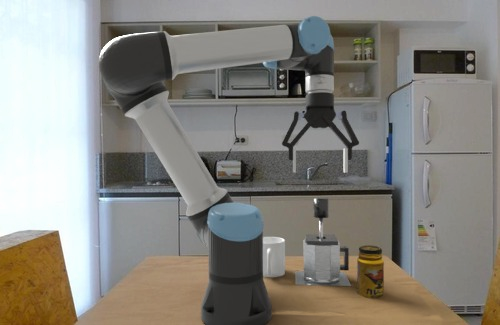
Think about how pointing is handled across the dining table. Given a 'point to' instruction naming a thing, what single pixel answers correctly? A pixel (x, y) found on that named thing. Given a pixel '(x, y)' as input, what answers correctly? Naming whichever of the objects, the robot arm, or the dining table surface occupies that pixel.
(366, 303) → the dining table surface
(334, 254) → the carafe
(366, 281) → the condiment
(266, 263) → the cup
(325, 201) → the plunger
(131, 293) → the dining table surface
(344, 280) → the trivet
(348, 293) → the dining table surface
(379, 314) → the dining table surface
